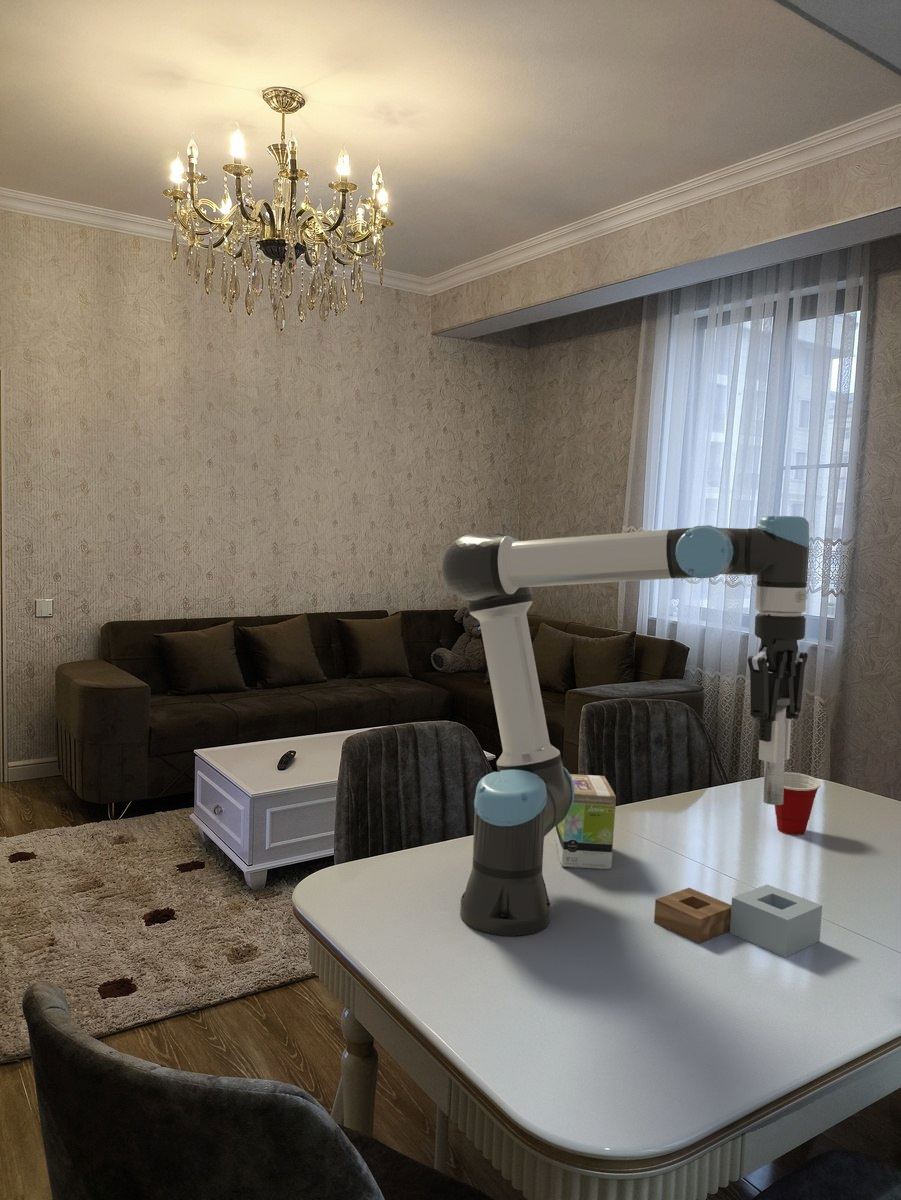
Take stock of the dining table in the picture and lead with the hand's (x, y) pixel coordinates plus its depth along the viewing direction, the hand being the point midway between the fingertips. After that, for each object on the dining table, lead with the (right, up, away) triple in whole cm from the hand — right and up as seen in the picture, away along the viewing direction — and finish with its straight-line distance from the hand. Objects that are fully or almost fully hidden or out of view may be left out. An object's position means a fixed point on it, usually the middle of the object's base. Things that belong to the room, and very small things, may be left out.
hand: (774, 758), depth 143 cm
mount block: (-12, -29, +5) cm, 31 cm away
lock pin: (0, -7, 0) cm, 7 cm away
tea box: (-26, -26, +36) cm, 51 cm away
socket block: (+1, -29, +2) cm, 29 cm away
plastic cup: (+24, -26, +55) cm, 66 cm away
